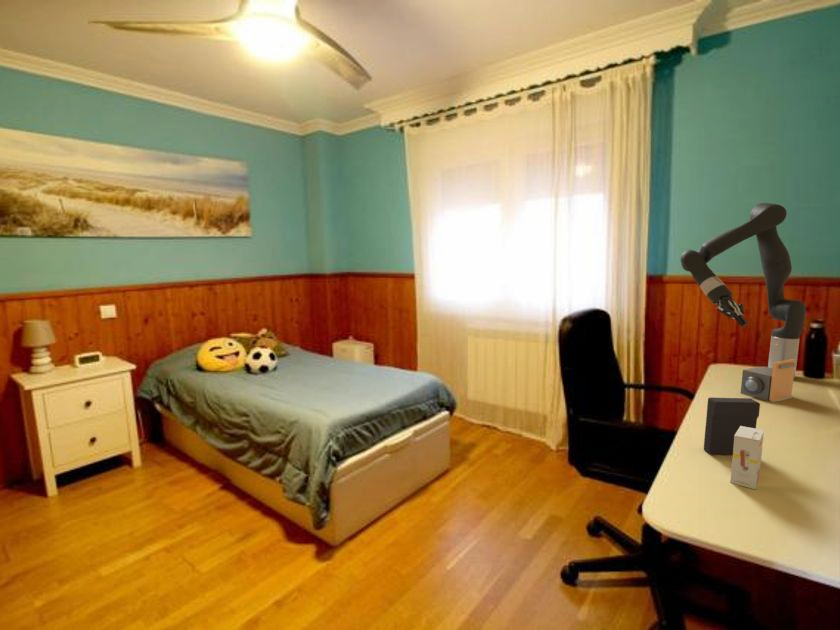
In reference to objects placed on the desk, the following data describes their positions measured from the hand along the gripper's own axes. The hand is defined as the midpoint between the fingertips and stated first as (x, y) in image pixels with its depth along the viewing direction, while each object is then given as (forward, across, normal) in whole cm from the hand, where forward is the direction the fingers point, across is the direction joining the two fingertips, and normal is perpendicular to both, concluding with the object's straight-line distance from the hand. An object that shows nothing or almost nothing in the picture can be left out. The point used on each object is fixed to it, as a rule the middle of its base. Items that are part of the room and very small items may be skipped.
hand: (744, 324), depth 165 cm
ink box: (+50, -68, -12) cm, 85 cm away
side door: (+28, 0, +7) cm, 29 cm away
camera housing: (+25, -1, +12) cm, 27 cm away
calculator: (+42, -57, -4) cm, 71 cm away
